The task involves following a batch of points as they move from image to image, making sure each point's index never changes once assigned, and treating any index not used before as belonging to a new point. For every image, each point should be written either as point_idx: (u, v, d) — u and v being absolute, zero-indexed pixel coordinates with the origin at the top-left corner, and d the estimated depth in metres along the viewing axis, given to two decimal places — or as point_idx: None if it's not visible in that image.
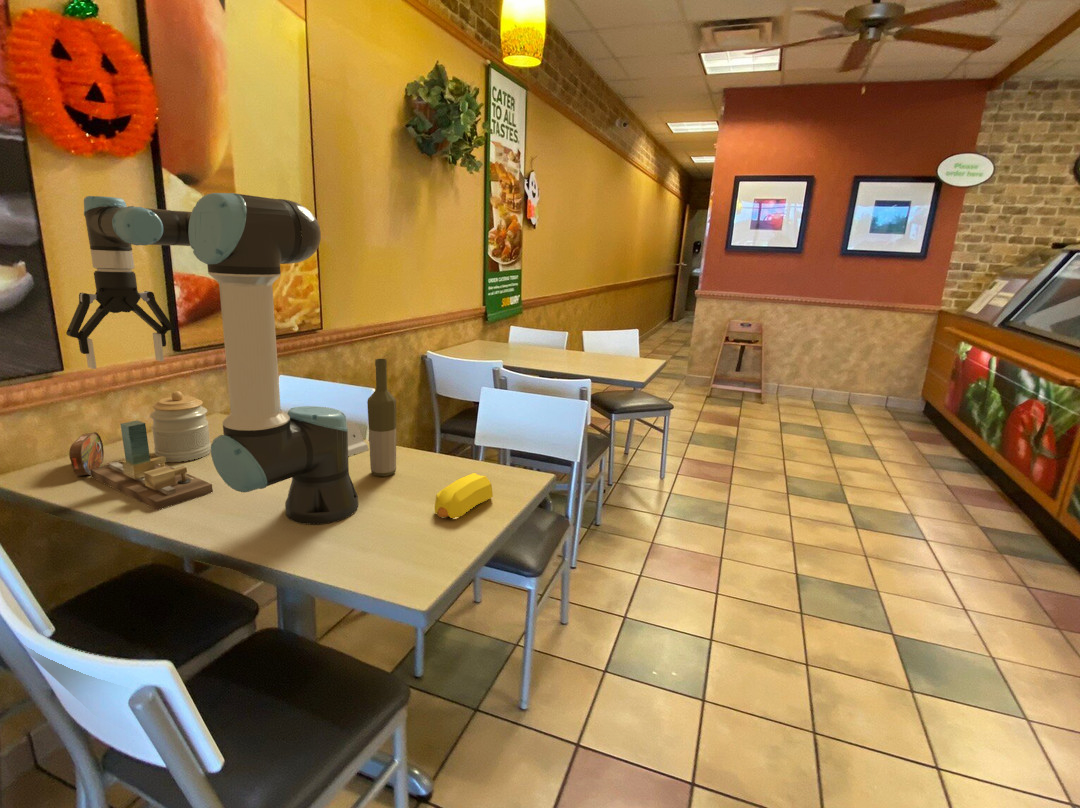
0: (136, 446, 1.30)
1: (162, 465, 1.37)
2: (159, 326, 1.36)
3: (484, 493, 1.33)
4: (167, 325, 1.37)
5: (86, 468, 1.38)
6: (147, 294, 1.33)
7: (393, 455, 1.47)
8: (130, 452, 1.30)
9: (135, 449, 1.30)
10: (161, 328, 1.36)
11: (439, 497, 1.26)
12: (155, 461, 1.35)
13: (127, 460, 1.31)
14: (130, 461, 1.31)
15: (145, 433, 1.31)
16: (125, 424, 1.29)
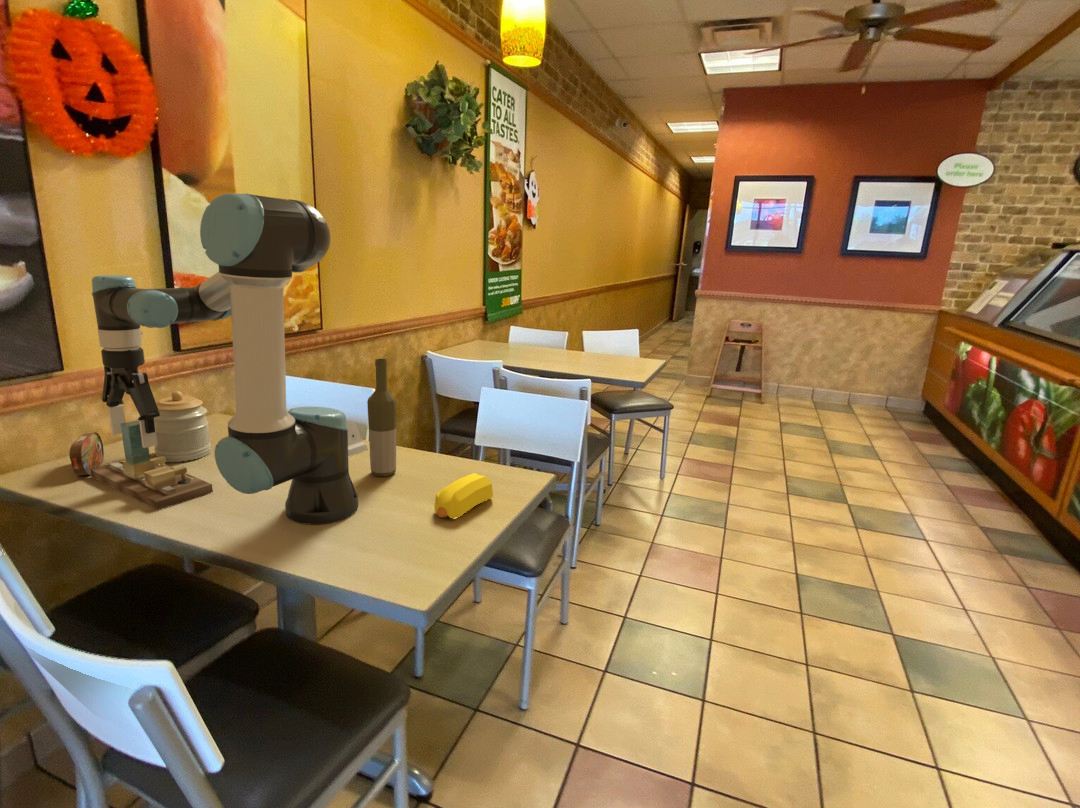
0: (136, 446, 1.30)
1: (162, 465, 1.37)
2: (140, 411, 1.25)
3: (484, 493, 1.33)
4: (144, 412, 1.24)
5: (86, 468, 1.38)
6: None
7: (393, 455, 1.47)
8: (130, 452, 1.30)
9: (135, 449, 1.30)
10: (141, 414, 1.24)
11: (439, 497, 1.26)
12: (155, 461, 1.35)
13: (127, 460, 1.31)
14: (130, 461, 1.31)
15: None
16: (125, 424, 1.29)
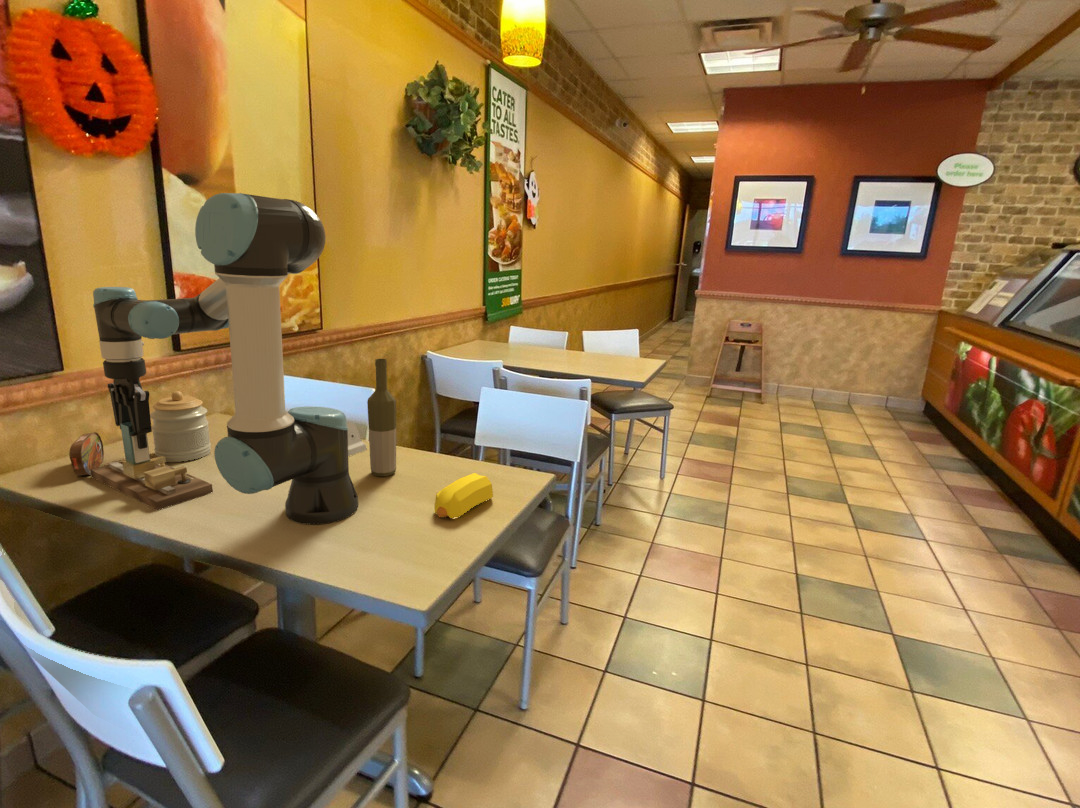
0: None
1: (162, 465, 1.37)
2: (134, 427, 1.28)
3: (484, 493, 1.33)
4: (137, 428, 1.27)
5: (86, 468, 1.38)
6: None
7: (393, 455, 1.47)
8: (130, 452, 1.30)
9: None
10: (134, 430, 1.28)
11: (439, 497, 1.26)
12: (155, 461, 1.35)
13: (127, 460, 1.31)
14: (130, 461, 1.31)
15: None
16: (125, 424, 1.29)
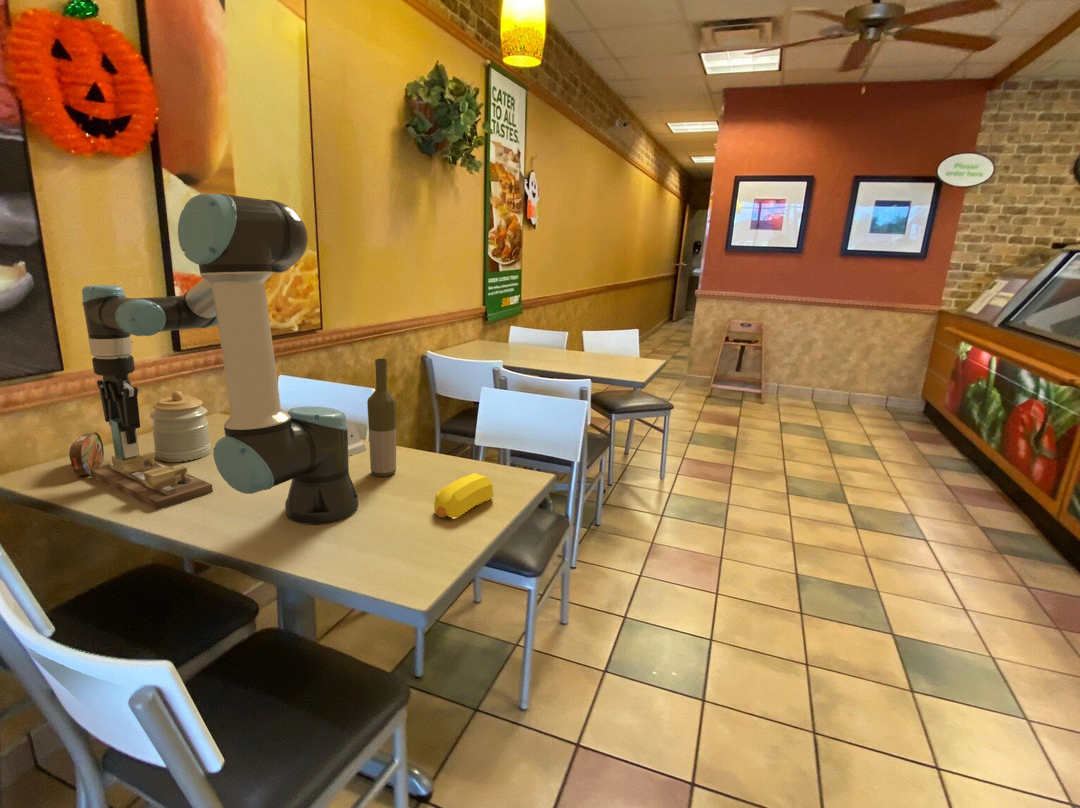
0: None
1: (151, 460, 1.39)
2: (122, 423, 1.30)
3: (484, 493, 1.33)
4: (126, 423, 1.29)
5: (86, 468, 1.38)
6: None
7: (393, 455, 1.47)
8: (119, 447, 1.32)
9: None
10: (123, 426, 1.30)
11: (438, 496, 1.26)
12: (144, 456, 1.37)
13: (116, 455, 1.34)
14: (119, 456, 1.33)
15: None
16: (114, 420, 1.32)
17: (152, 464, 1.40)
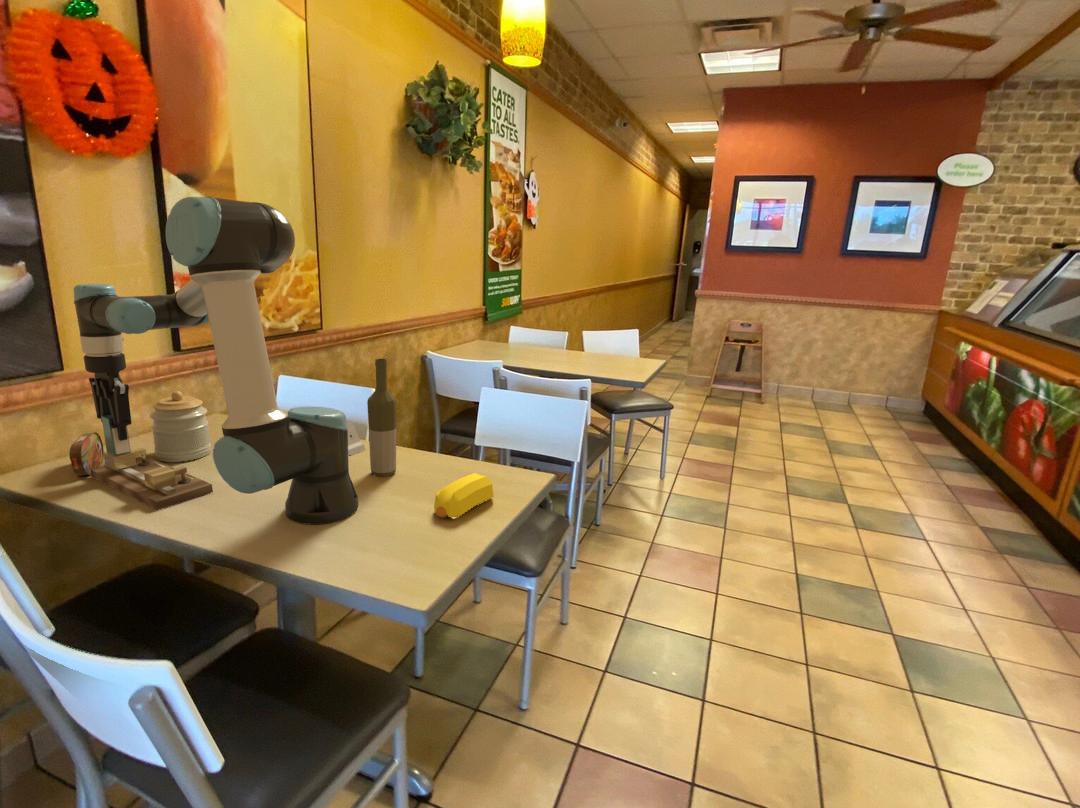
0: None
1: (143, 457, 1.41)
2: (114, 420, 1.32)
3: (484, 493, 1.33)
4: (117, 420, 1.31)
5: (86, 468, 1.38)
6: None
7: (393, 455, 1.47)
8: (111, 444, 1.34)
9: None
10: (114, 422, 1.32)
11: (438, 496, 1.26)
12: (136, 453, 1.39)
13: (108, 452, 1.36)
14: (111, 452, 1.35)
15: None
16: (106, 417, 1.34)
17: (143, 460, 1.42)
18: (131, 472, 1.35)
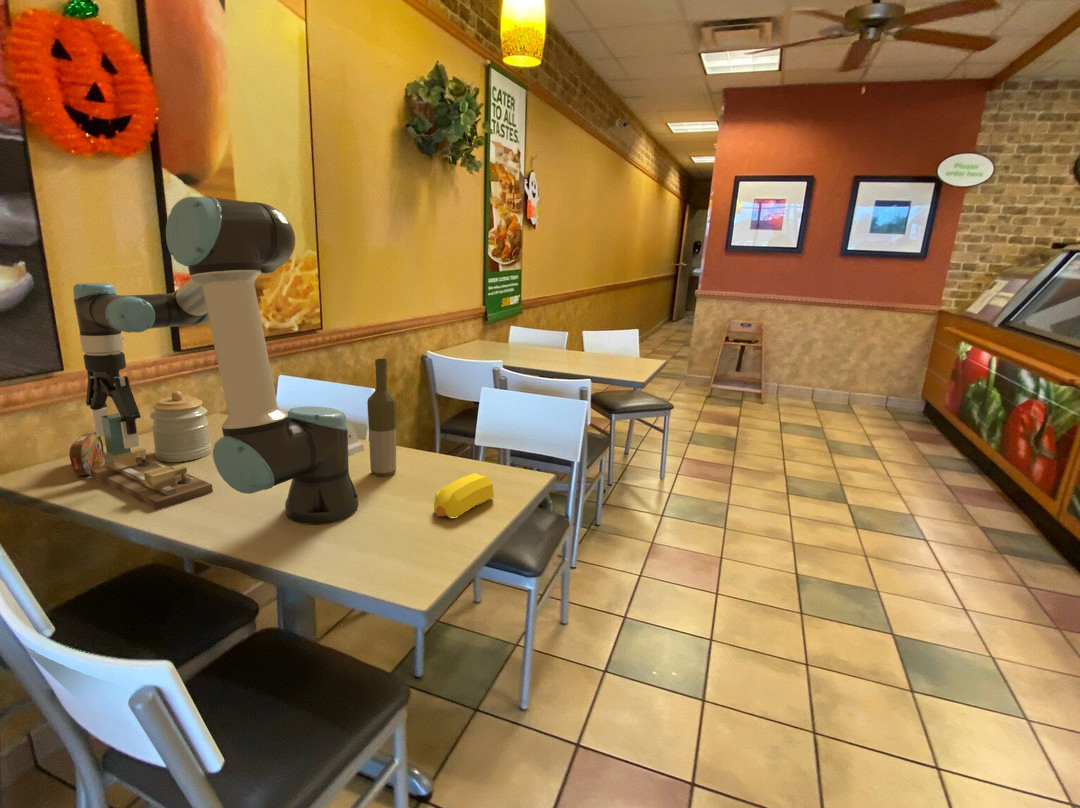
0: (117, 438, 1.34)
1: (143, 457, 1.41)
2: (121, 413, 1.29)
3: (484, 493, 1.32)
4: (125, 414, 1.29)
5: (86, 468, 1.38)
6: None
7: (393, 455, 1.47)
8: (111, 444, 1.34)
9: (115, 441, 1.34)
10: (122, 416, 1.29)
11: (438, 496, 1.26)
12: (136, 453, 1.39)
13: (108, 452, 1.36)
14: (111, 452, 1.35)
15: None
16: (106, 417, 1.34)
17: (143, 460, 1.42)
18: (131, 472, 1.35)
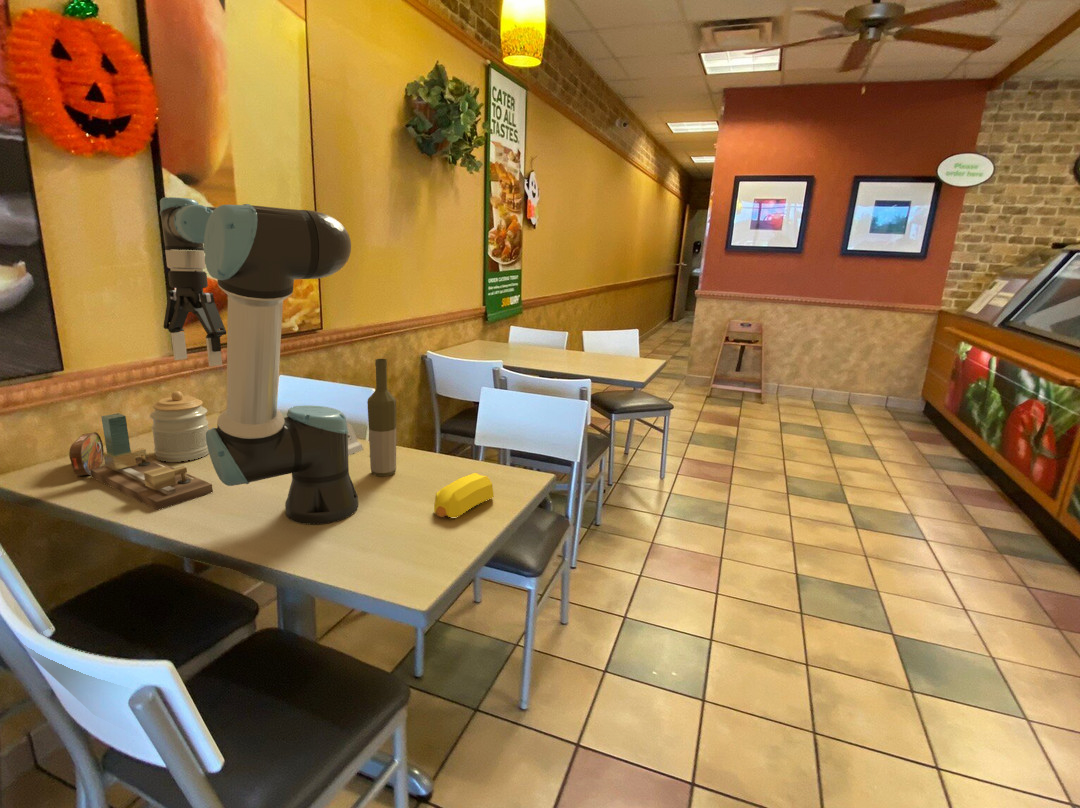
0: (117, 438, 1.34)
1: (143, 457, 1.41)
2: (207, 330, 1.29)
3: (484, 493, 1.33)
4: (212, 330, 1.28)
5: (86, 468, 1.38)
6: None
7: (393, 455, 1.47)
8: (111, 444, 1.34)
9: (115, 441, 1.34)
10: (208, 332, 1.29)
11: (438, 496, 1.26)
12: (136, 453, 1.39)
13: (108, 452, 1.36)
14: (111, 452, 1.35)
15: (125, 425, 1.35)
16: (106, 417, 1.34)
17: (143, 460, 1.42)
18: (131, 472, 1.35)
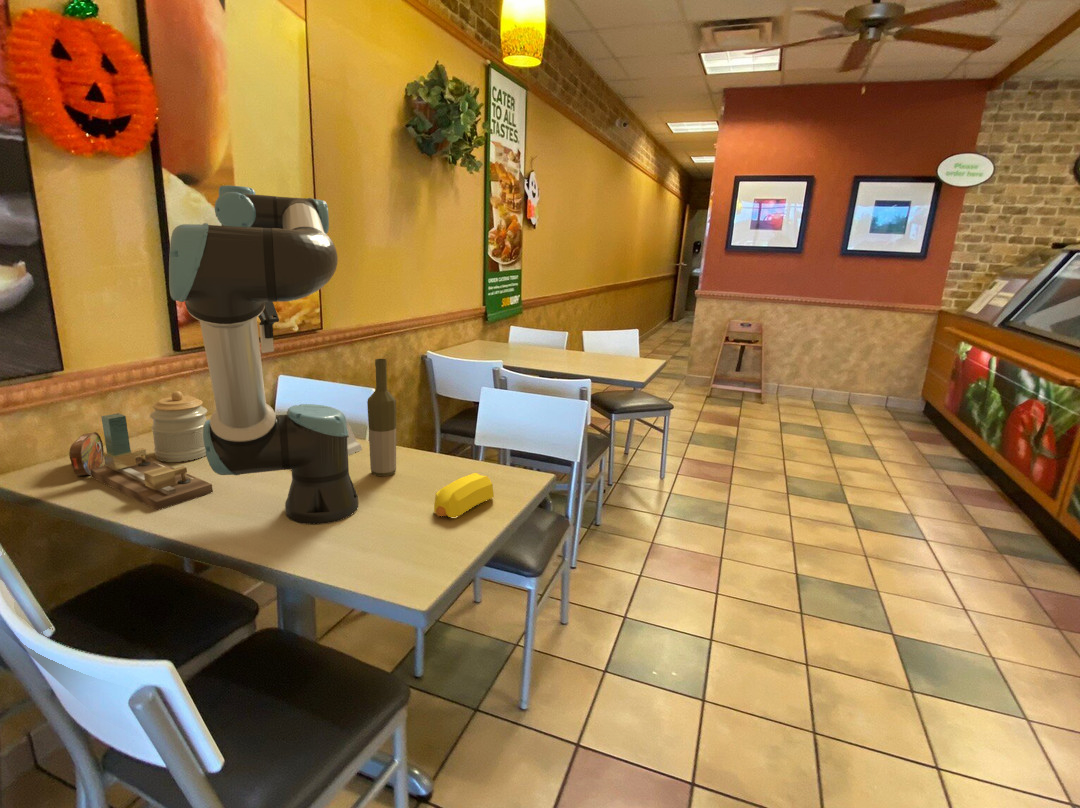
0: (117, 438, 1.34)
1: (143, 457, 1.41)
2: (261, 317, 1.32)
3: (484, 493, 1.33)
4: (266, 317, 1.31)
5: (86, 468, 1.38)
6: None
7: (393, 455, 1.47)
8: (111, 444, 1.34)
9: (115, 441, 1.34)
10: (262, 319, 1.32)
11: (438, 496, 1.26)
12: (136, 453, 1.39)
13: (108, 452, 1.36)
14: (111, 452, 1.35)
15: (125, 425, 1.35)
16: (106, 417, 1.34)
17: (143, 460, 1.42)
18: (131, 472, 1.35)
